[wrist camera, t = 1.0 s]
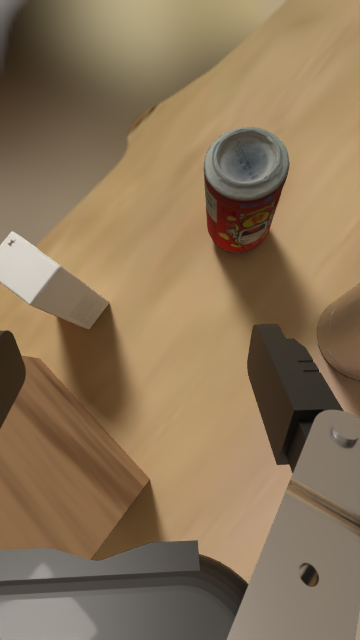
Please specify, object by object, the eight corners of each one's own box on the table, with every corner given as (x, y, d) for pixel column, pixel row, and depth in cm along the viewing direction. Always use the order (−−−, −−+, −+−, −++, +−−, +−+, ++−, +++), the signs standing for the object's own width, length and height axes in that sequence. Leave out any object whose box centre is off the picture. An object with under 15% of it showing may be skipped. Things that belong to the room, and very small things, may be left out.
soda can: (227, 269, 36) (231, 209, 24) (197, 223, 37) (187, 145, 25) (279, 239, 36) (310, 164, 24) (247, 194, 37) (260, 104, 26)
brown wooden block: (39, 358, 36) (-219, 316, 15) (149, 479, 32) (10, 667, 10) (2, 396, 36) (-319, 410, 14) (109, 524, 31) (-123, 818, 10)
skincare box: (53, 304, 37) (-22, 267, 26) (74, 276, 38) (11, 227, 26) (89, 332, 36) (28, 306, 24) (111, 303, 36) (62, 264, 25)
